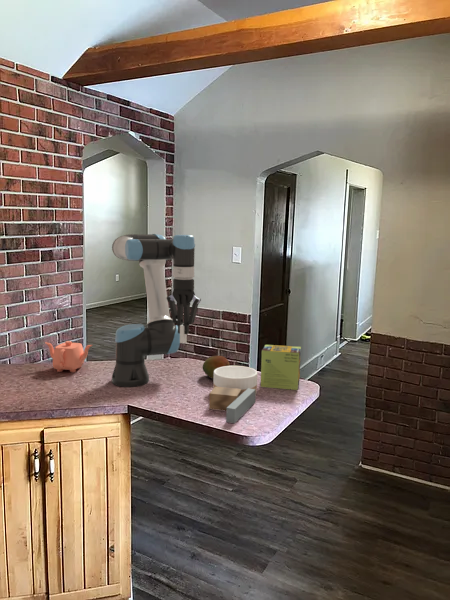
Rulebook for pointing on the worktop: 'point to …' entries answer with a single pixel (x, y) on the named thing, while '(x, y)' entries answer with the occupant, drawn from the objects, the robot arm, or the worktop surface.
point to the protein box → (280, 367)
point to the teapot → (68, 355)
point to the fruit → (214, 364)
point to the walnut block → (223, 397)
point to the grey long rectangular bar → (240, 405)
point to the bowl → (235, 377)
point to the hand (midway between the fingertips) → (183, 342)
